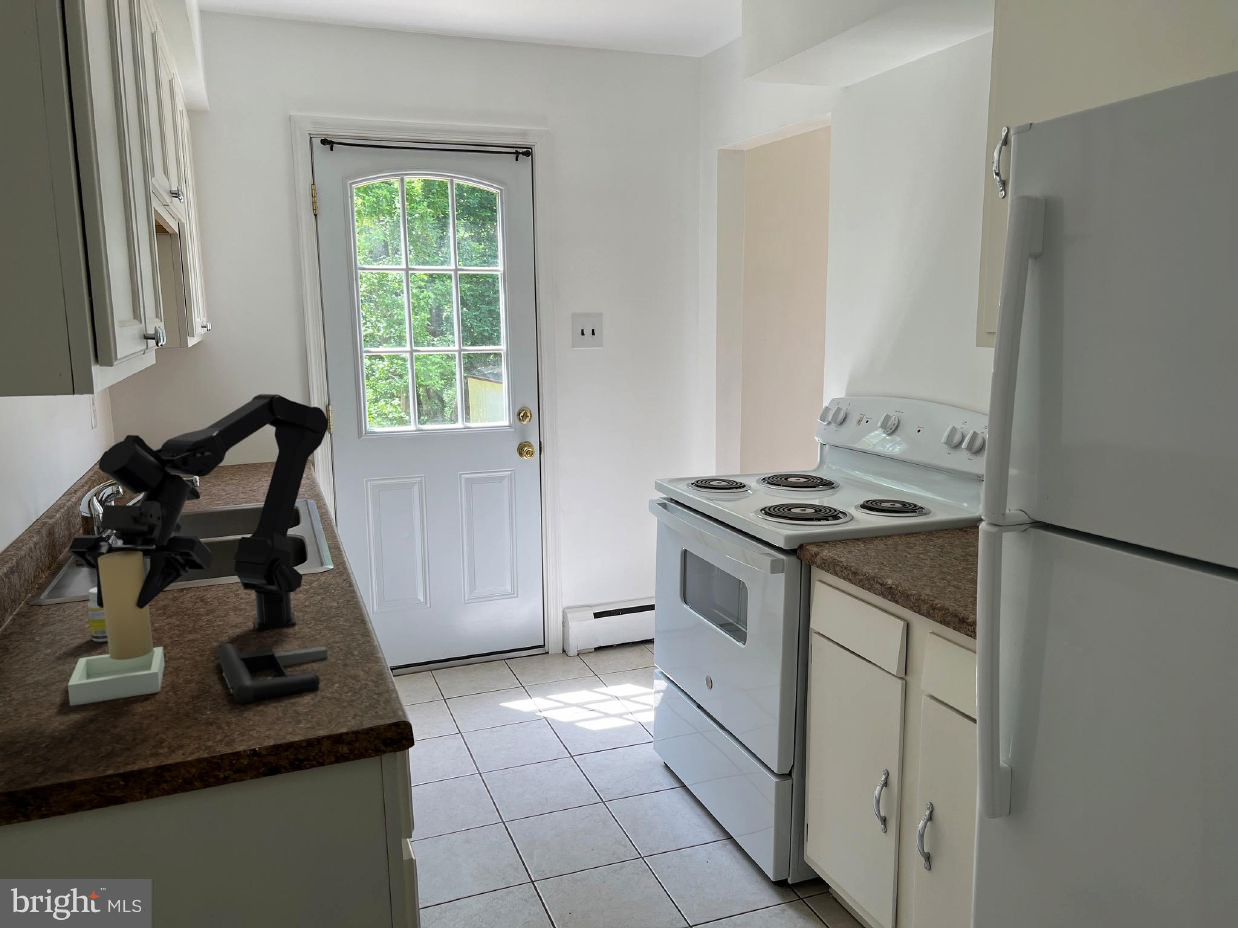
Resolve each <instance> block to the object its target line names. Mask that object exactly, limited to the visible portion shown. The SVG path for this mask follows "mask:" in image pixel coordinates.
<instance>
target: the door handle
mask: <svg viewBox="0 0 1238 928" xmlns="http://www.w3.org/2000/svg"><path fill="white" fill-rule="evenodd" d="M210 657H211V658H214V657H217V659H218V662H219V663H220V666H221V668H222V671H223V673H222V676H223V677H224V679H225V681H226V684H227V686H228V688H226V690H230V694H228V695H226V697H230V696H234V699H235V700H236V701H237V703H239V704H241V705H247V704H250V703H252V702H254V701H257V700H263V699H269V698H275V697H281V696H282V697H283V696H288V695H294V694H298V693H305V692H309V691H310V692H311V691H314V690H317V689H318V688H319V686H320V685H321V683H320V681H321V680H320V677H319V675H318V674H317V673H316V672H315V673H314V672H311V671H309V672H304V673H296V674H295V673H294V674H290V675H288V674H287V672H286V669H284V667H285V666H290V665H291V666H292V665H296V664H302V663H306V662H311V661H312V662H313V661H316V660H317V661H318V660H322V659H327V658H328V648H327V647H326V646H325V645H323V646H317V647H309V648H302V649H294V650H287V651H281V652H274V650H273V648H272V647H269V648H264V649H263V648H261V649H254V650H248V651H247V650H246V651H241V652H240V650H238V647H236V646H235V644H232V643H227V642H226V643H223V644H222V645H221V646H220V647H218V650H217V654H216V655H212V656H210ZM272 670H273V671H274V672H275V675H276V677H271V676H269V677H267V678H263V679H256V680H254V679H253V677H252V675H253V674H257V673H263V672H267V671H272Z"/></svg>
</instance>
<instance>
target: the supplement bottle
mask: <svg viewBox="0 0 1238 928" xmlns="http://www.w3.org/2000/svg"><path fill="white" fill-rule="evenodd" d="M88 599H89V601H88V603H87V611H88V612H87V613H88V621H89V628H90V637H91V640H93V641H94V642H108V638H107V630H106V622H105V614H104V608H100V607H99V606H97V586H96V587H91V589H89V590H88Z"/></svg>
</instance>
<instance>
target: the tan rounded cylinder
mask: <svg viewBox="0 0 1238 928" xmlns="http://www.w3.org/2000/svg"><path fill="white" fill-rule="evenodd" d="M144 563H145V562H144V559H143V554H142V552H140V551H121V552H114V553H109V554H106V555H103V556H100V557H99V558H98V565H99V573H100V581H101V590H102V598H103V606H104V614H105V622H106V630H107V638H108V641H107V645H108V654H109V655H110V658H111V659H115V660H127V659H134V658H138V657H141V656H144V655H147V654H149V653H150V652H152V651H153V648H154V643H153V634H152V625H151V617H150V608H149V603H148V604H147V605H146V606H145V607H144V608H143V609H140V608H138V607H137V601H138V597H139V594H140V591H141V589H142V586H143V584H144V581H145V579H146V573H145V564H144Z"/></svg>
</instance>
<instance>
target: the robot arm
mask: <svg viewBox="0 0 1238 928" xmlns="http://www.w3.org/2000/svg"><path fill="white" fill-rule="evenodd" d="M267 425H268V426H270V427H273V428H274V437H275V438H274V439H275V442H276V445H277V449H278V453H277V457H276V459H275V464H274V467H273V470H272V475H271V478H270V482H269V485H268V487H267V488H268V489H267V491H266V494H265V499H264V502H263V506H262V509H261V512H260V513H261V514H260V516H259V519H258V523H257V526H256V529H255V531H254V532H253V533H252V534H251V535H250V536H241V537H240V539H239V541H238V546H237V551H236V553H235V555H234V557H233V558H232V560H233V561H234V568H233V569H234V572H235V573H236V575H237V578H238V579H239V581H240V584H241V587H242V588H243V590H245V591H254V599H255V608H256V609H255V610H256V617H254V618H253V619H254V628H255V629H254V630H255V631H263V630H264V631H265V630H271V629H277V628H284V627H291V626H292V627H294V626H296V625H297V622H296V618H295V613H294V612H293V610H292V597H291V593H294V592H296V590H297V589H300V588H302V587H301V586H302V581H303V574H301V573H300V572H299V571H298V570H297V569H296V568H295V567H294V566H292V565H291V557H292V556H291V555H292V550H291V547H290V544H289V540H288V532H289V527H290V524H291V520H292V517H293V514H294V509H295V506H296V503H297V498H298V495H299V492H300V488H301V485H302V481H303V478H304V474H305V470H306V466H307V463H308V460H309V458H310V456H311V455H313V454H314V452H315V451H317V449H319V447H320V446H321V444H322V443H323V440H324V438H325V436H326V433H327V431H328V428H329V427H328V426H329V420H328V418H327V416H326V414H325V411H324V410H323V409H321V407H318V406H310V405H306V404H303V403H300V402H296V401H294V400H290V399H288V398H287V397H284V396H283V395H280V394H277V393H275V394H271V393H264V394H263V393H261V394H257V395H255V396H254V397H252V399H251V400H250V401H248V402H247V403H244V405H241V406H240V407H238V408H237V409H235V410H233V411H231V412H230V413H229V414H227V415H225V416H224V417H222V418H220V419H219V420H217V421H215V422H214V423H212V424H210V425H209V426H207V427H204V428H203V429H199V430H193V431H191V432H185V433H182V434H179V435H177V436H174V437H171V438H169V439H167V440H166V441H164V442H163V443H162V445H161V446H160V447H159V448H156V449H153V448H152V447H150V446H149V444H147V443H146V441H145V440H144V439H143V438H142V437H141V436H139V435H137V434H127V435H126V436H125V437H124V439H123V440H122V441H119V442H117V443H115V444H113V445H112V446H111V447H110V448H109V449H108V450H105V451H104V452H103V453H102V455H101V457H100V459H99V461H98V468H99V470H100V471H101V472H102V473H103V474H104V475H106V476H107V477H108V478H110V480H113V481H114V482H115V483H116V484H118V485H119V486H121V487H122V488H123V489H124V490H126V491H127V492H128V493H130V494H133V495H137V494H138V495H139V494H141V493H143V494H142V497H141V498H140V501H139V503H138V505H130V504H129V505H127V504H105V505H102V506H103V507H102V512H101V519H100V525H99V529H102V530H110V531H113V532H114V534H113V537H115V538H116V539H117V540H118V541H119V540H120V541H122V543H121V544H113V543H111V542H109V540H107V539H106V537H104V536H103V535H94V534H93V535H89V534H88V535H87V534H86V535H83V534H82V535H77V536H75V537H73V538H72V540H71V542H70V545H69V546H68V548H67V552H68V553H70V554H71V555H72V556H73V557H74V558H75V559H76V560H77V561H79V562H80V563H81V564H82V565H83V566H84V567H86V568H87V569H90V570H93V571H95V572H96V587H97V606H99V607H100V608H104V606H103V598H102V590H101V581H100V573H99V565H98V558H99V557H100V556H103V555H106V554H109V553H114V552H121V551H140V552H142V554H143V560H149V569H148V572H147V574H146V575H145V581H144V584H143V586H142V589H141V591H140V594H139V597H138V601H137V607H138V608H140V609H143V608H144V607H145V606H146V605H147V604H148V605H149V603H151V602H152V601H153V600H154V599H155V598H157V596H159V595H160V594H161V593H162V592H163V591H164V590H165V589H166V588H168V587H169V586H171V585H172V584H174V582H176V581H177V580H178V579H180V578H181V577H185V576H188V574H189V571H190V572H208V571H209V570H210V569H211V566H212V562H213V560H214V558H213V557H214V556H213V553H212V551H211V550H210V549H209V548H208V547H207V545H206V544H205V543H204V542H202V540H201V539H200V538H199V537H198V536H197V535H173V534H174V533H175V534H176V533H177V534H178V533H180V532H181V529H182V526H181V524H180V523H179V519H180V517H181V515H182V512H183V509H184V508H185V507H184V506H185V504H186V503H187V501H188V502H189V501H195V500H200V499H201V494H200V492H199V490H198V489H197V488H196V484H195V482H193V481H192V482H188V481H187V480H186V479H185V478H183V477H182V476H186V477H200V478H201V477H206V476H208V475H210V474H211V473H212V472H213V471H215V470H216V469H217V468H218V467H219V466H220V465H221V464H222V463H223V462H224V460H225V457H226V454H227V453H228V452H229V450H231V448H233V447H234V446H236V445H238V444H240V443H241V442H243V441H244V440H245V439H247V438H249V437H250V436H252V435H253V434H255V433H256V432H258V431H259V430H261V429H262V428H264V427H266V426H267ZM187 569H188V570H187Z"/></svg>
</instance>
